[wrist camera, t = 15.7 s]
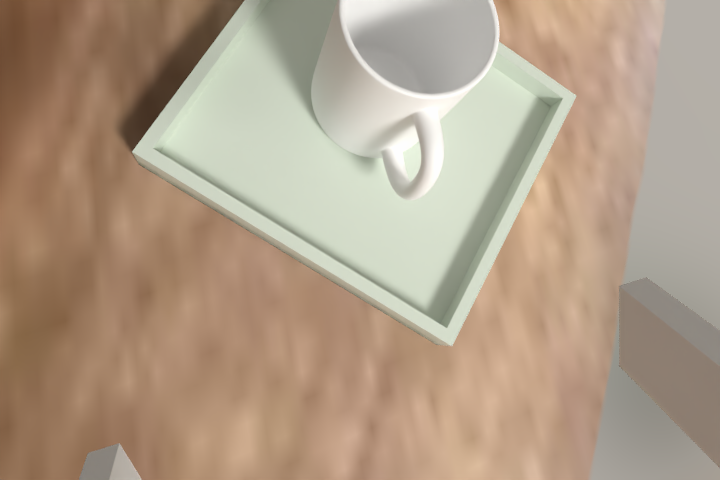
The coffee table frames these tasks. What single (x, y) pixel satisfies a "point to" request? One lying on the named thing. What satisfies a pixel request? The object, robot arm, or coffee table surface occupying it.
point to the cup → (400, 78)
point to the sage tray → (354, 167)
